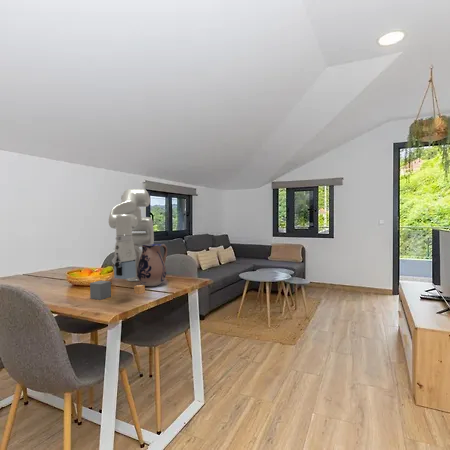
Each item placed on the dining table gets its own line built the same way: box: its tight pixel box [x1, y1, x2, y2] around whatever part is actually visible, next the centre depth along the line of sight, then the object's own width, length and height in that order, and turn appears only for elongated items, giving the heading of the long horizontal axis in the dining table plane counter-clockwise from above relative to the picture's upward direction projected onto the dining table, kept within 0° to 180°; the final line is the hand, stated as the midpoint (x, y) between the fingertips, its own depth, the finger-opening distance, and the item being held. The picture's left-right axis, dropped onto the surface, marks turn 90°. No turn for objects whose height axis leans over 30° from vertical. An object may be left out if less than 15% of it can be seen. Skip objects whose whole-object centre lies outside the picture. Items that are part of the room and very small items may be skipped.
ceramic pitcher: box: [137, 243, 168, 287], centre depth 191 cm, size 18×21×25 cm
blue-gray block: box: [113, 261, 136, 280], centre depth 155 cm, size 7×7×8 cm
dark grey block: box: [89, 280, 112, 301], centre depth 162 cm, size 7×7×8 cm
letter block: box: [133, 284, 146, 295], centre depth 171 cm, size 4×4×4 cm
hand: (125, 273), depth 155 cm, fingers closed on blue-gray block, 7 cm apart
